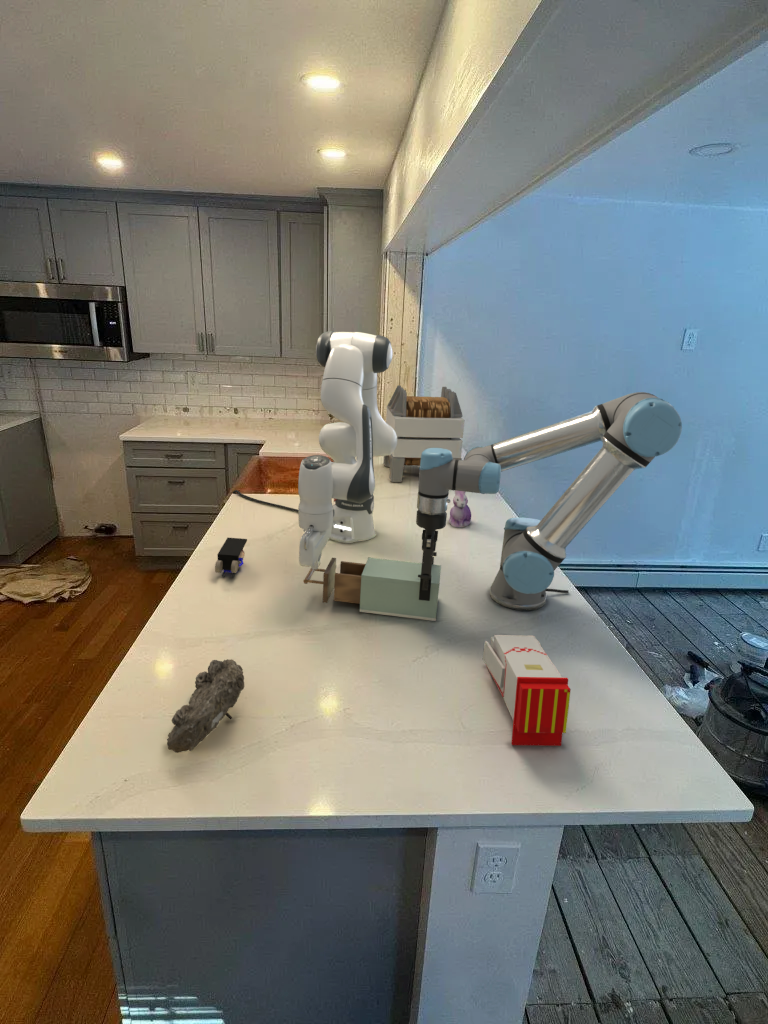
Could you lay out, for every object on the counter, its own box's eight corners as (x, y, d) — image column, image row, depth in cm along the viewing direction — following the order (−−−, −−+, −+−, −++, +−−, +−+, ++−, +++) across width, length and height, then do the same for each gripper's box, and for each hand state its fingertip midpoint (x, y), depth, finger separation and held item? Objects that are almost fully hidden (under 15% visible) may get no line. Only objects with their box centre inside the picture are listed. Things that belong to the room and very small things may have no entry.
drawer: (302, 600, 149) (302, 570, 146) (311, 583, 158) (312, 555, 155) (392, 611, 146) (394, 581, 144) (396, 593, 156) (398, 564, 153)
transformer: (382, 463, 289) (386, 382, 275) (445, 464, 293) (451, 384, 279) (390, 482, 257) (394, 392, 243) (460, 483, 261) (468, 394, 247)
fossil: (192, 660, 117) (244, 628, 112) (224, 691, 120) (276, 661, 115) (142, 746, 98) (202, 712, 93) (182, 779, 101) (242, 748, 96)
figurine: (457, 529, 205) (460, 490, 200) (441, 520, 214) (444, 482, 209) (478, 526, 210) (482, 487, 205) (462, 517, 218) (465, 480, 213)
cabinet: (359, 611, 147) (361, 575, 143) (366, 591, 158) (368, 557, 154) (435, 621, 145) (439, 584, 141) (437, 600, 156) (441, 565, 152)
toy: (531, 618, 129) (580, 685, 100) (526, 672, 132) (572, 753, 102) (478, 617, 129) (511, 684, 99) (475, 671, 131) (505, 752, 102)
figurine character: (238, 584, 162) (249, 557, 175) (236, 562, 158) (247, 536, 172) (215, 584, 161) (227, 556, 175) (212, 561, 158) (225, 535, 171)
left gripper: (317, 535, 136) (317, 586, 141) (336, 506, 155) (335, 552, 160) (292, 533, 137) (293, 583, 142) (313, 504, 156) (313, 550, 161)
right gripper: (445, 528, 130) (438, 612, 137) (448, 497, 152) (441, 571, 159) (412, 525, 131) (407, 609, 138) (420, 494, 153) (415, 568, 160)
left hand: (315, 567), depth 151 cm, fingers closed
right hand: (425, 589), depth 149 cm, fingers closed on cabinet, 11 cm apart
